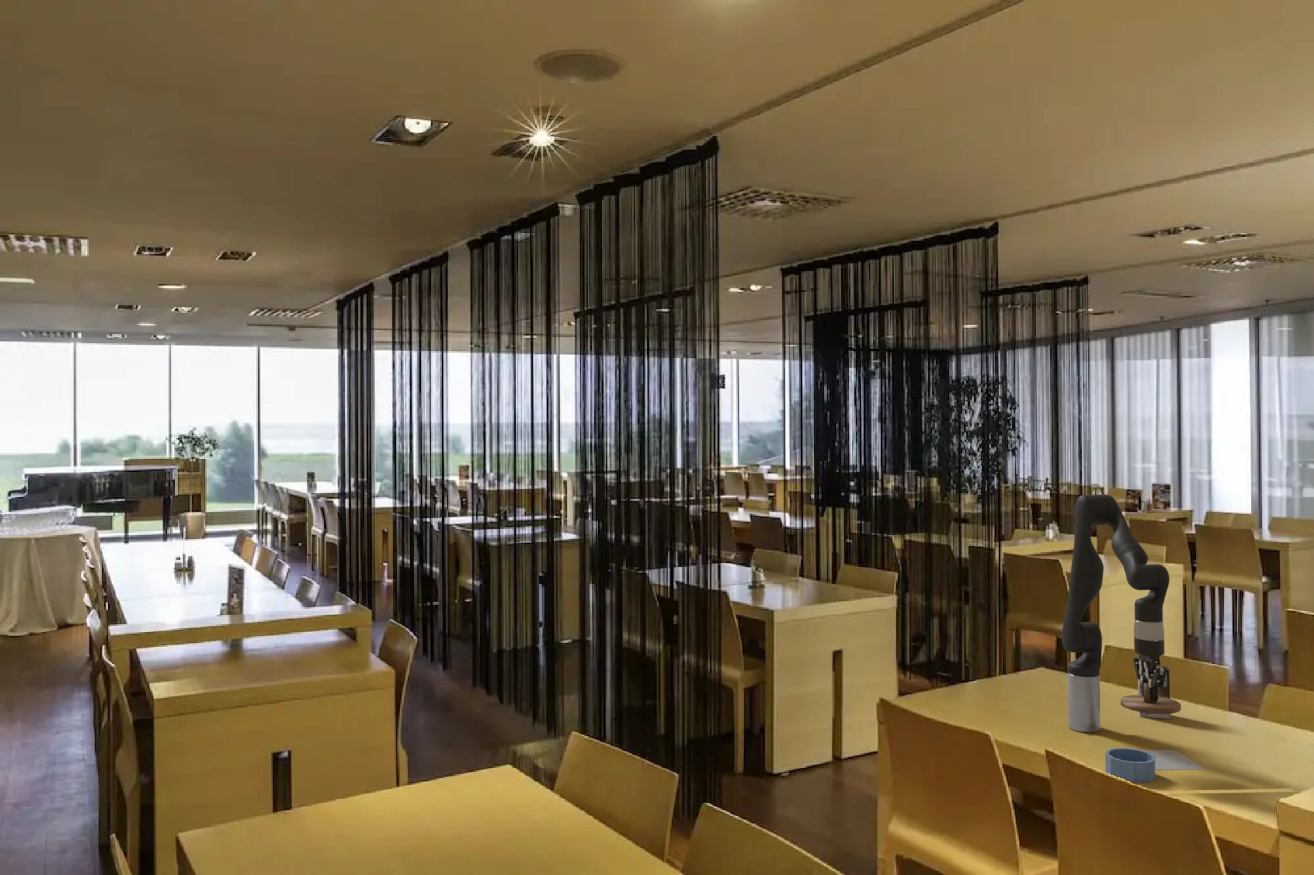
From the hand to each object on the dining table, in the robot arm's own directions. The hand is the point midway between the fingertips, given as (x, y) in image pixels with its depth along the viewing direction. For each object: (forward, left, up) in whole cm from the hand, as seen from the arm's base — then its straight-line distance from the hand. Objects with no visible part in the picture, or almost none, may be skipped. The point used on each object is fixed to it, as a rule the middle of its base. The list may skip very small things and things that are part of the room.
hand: (1150, 698), depth 275 cm
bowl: (+6, -9, -20) cm, 22 cm away
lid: (0, 0, -2) cm, 2 cm away
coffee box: (-49, +25, -20) cm, 59 cm away
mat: (-5, +5, -20) cm, 21 cm away
